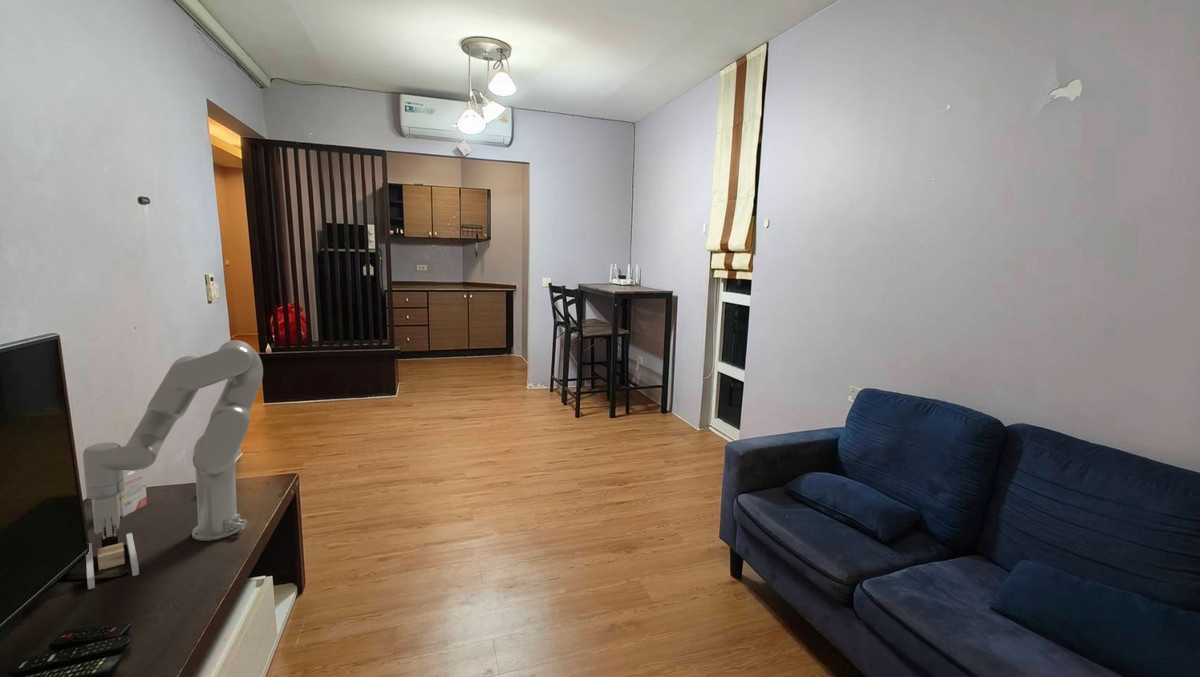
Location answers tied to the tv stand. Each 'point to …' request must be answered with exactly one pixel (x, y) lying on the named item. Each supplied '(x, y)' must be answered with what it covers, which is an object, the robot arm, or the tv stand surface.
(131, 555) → the frosted channel
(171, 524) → the tv stand surface
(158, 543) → the tv stand surface
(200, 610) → the tv stand surface
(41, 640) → the tv stand surface
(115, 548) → the maple block
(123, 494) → the ink cartridge box
